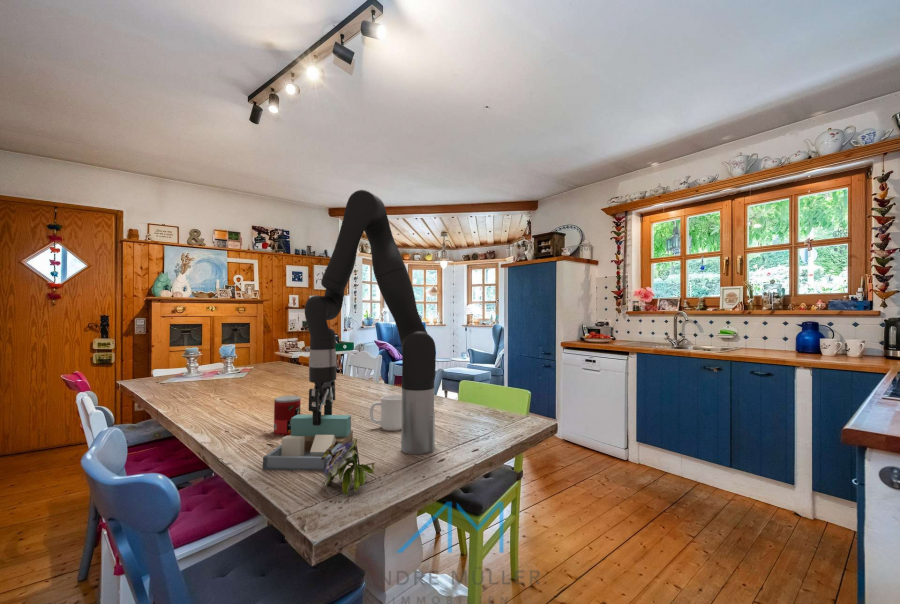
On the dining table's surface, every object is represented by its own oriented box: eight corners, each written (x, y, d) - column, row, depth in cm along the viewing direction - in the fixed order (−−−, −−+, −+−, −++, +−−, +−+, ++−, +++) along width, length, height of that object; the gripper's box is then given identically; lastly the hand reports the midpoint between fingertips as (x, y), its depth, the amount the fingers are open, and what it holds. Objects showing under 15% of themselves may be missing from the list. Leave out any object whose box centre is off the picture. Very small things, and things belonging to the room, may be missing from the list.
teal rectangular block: (350, 432, 112) (351, 415, 112) (346, 436, 108) (347, 418, 108) (296, 431, 112) (297, 414, 112) (290, 436, 108) (291, 418, 108)
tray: (341, 454, 103) (342, 443, 104) (327, 470, 92) (327, 458, 93) (283, 453, 104) (284, 442, 104) (262, 469, 93) (263, 457, 93)
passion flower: (329, 510, 84) (318, 456, 90) (377, 492, 89) (364, 442, 95) (328, 500, 76) (316, 442, 82) (381, 481, 80) (367, 427, 86)
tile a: (335, 440, 104) (334, 434, 102) (331, 457, 100) (329, 452, 98) (317, 440, 104) (315, 434, 102) (312, 457, 100) (310, 452, 99)
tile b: (304, 436, 102) (300, 439, 99) (304, 455, 101) (299, 458, 99) (286, 435, 102) (281, 438, 100) (286, 454, 102) (281, 457, 99)
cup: (407, 429, 127) (407, 398, 127) (370, 432, 123) (371, 401, 123) (403, 422, 134) (403, 393, 135) (368, 425, 131) (368, 395, 131)
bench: (352, 442, 113) (352, 430, 114) (341, 454, 103) (342, 441, 104) (299, 441, 114) (299, 429, 114) (283, 453, 104) (284, 440, 104)
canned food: (290, 436, 119) (291, 401, 119) (268, 435, 120) (268, 399, 121) (304, 429, 126) (305, 396, 127) (283, 428, 128) (284, 394, 128)
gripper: (326, 368, 104) (326, 428, 103) (343, 361, 118) (343, 414, 117) (299, 368, 104) (299, 428, 103) (319, 361, 118) (319, 414, 118)
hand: (322, 420), depth 110 cm, fingers open, 8 cm apart
